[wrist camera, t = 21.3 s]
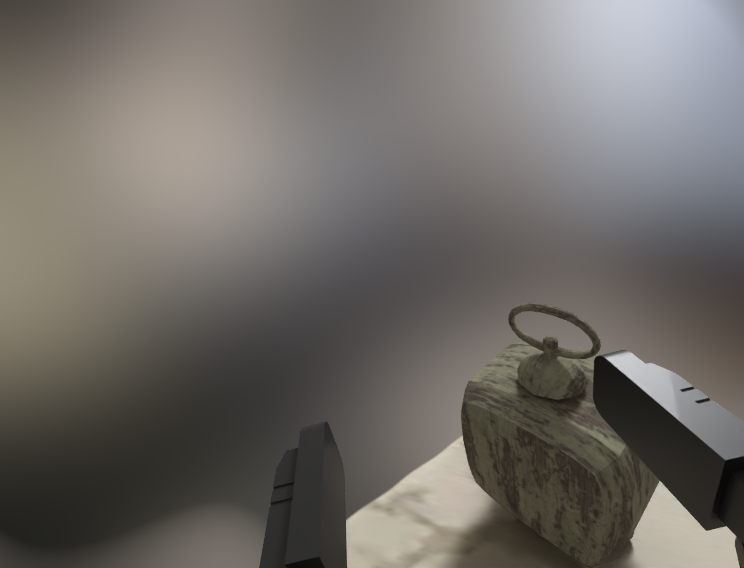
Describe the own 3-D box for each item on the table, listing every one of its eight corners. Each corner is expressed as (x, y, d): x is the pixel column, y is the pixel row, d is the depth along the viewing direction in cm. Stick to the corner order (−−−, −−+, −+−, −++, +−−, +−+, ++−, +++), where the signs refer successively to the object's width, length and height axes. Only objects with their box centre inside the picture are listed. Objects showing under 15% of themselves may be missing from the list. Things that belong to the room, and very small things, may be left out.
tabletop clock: (653, 535, 33) (693, 305, 23) (613, 622, 29) (640, 383, 19) (512, 449, 44) (496, 268, 34) (466, 502, 40) (432, 311, 30)
